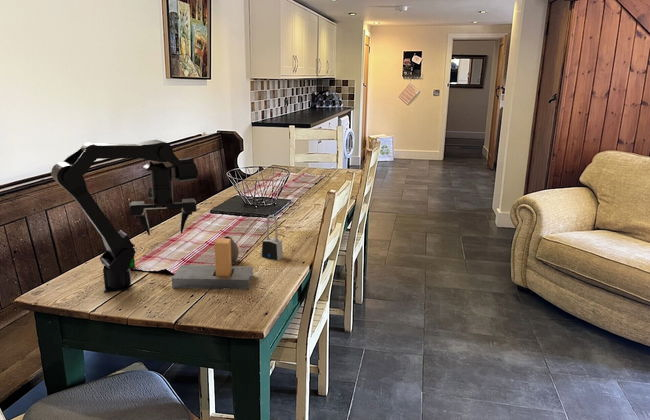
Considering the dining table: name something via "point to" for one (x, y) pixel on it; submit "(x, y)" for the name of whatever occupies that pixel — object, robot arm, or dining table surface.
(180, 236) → the dining table surface
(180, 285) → the rail
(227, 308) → the dining table surface
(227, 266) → the peg
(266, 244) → the padlock
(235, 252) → the vase
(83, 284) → the dining table surface
